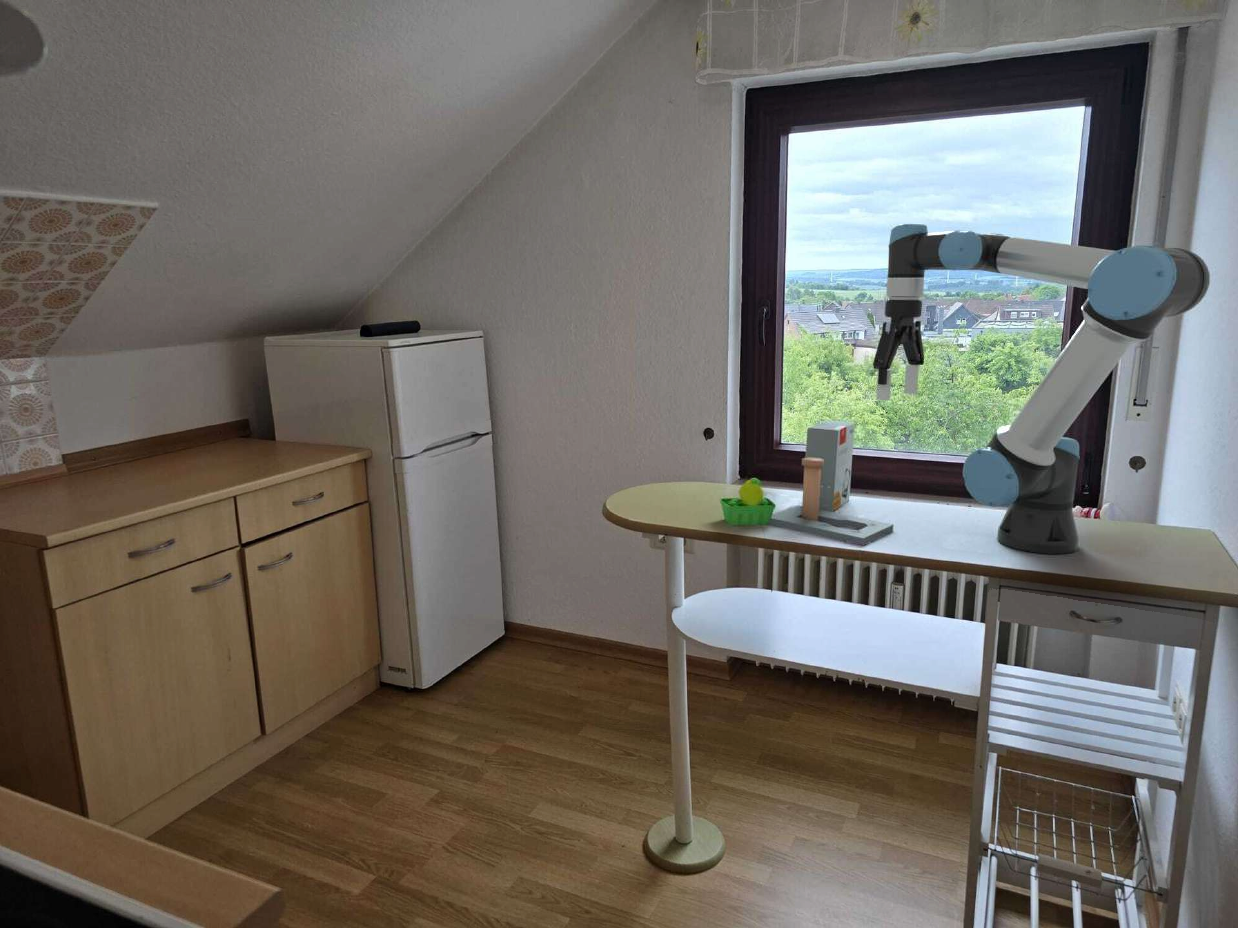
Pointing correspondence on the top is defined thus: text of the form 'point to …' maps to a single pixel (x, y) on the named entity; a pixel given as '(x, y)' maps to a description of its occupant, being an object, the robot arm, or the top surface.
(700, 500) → the top surface
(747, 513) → the fruit basket
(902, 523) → the top surface
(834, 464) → the hard drive box
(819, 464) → the peg
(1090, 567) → the top surface
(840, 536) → the keyhole board
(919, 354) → the robot arm
